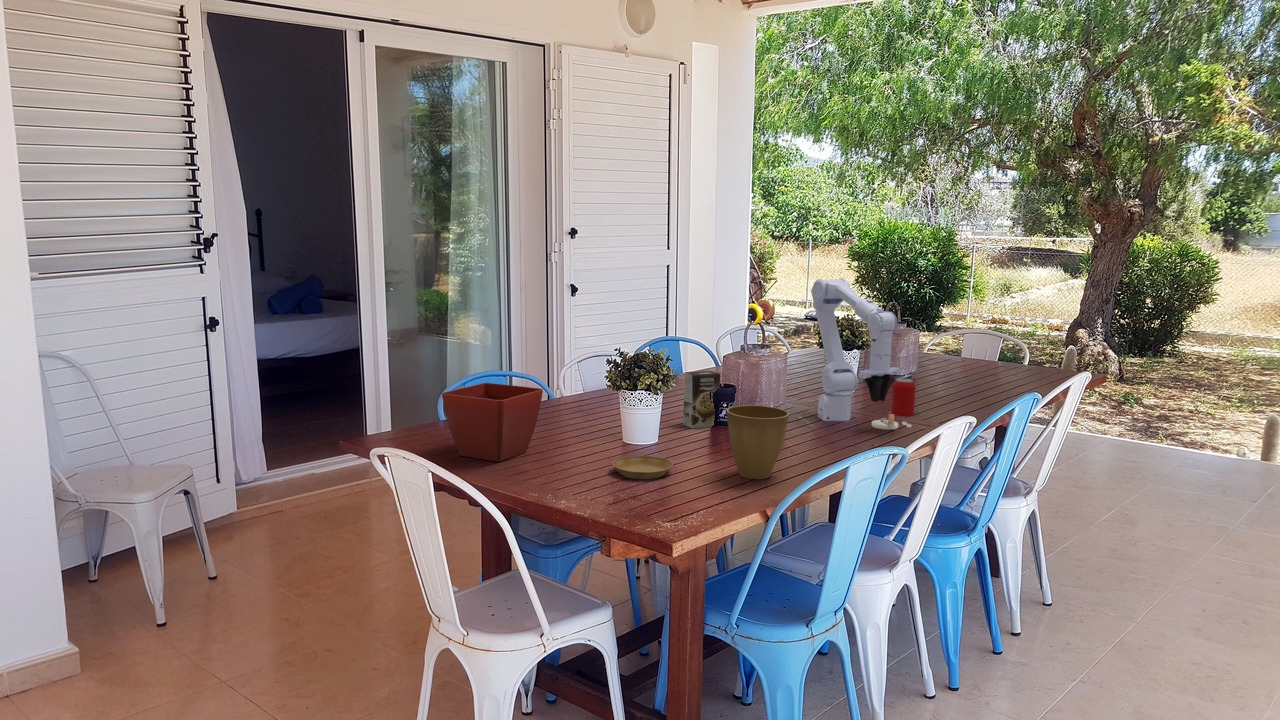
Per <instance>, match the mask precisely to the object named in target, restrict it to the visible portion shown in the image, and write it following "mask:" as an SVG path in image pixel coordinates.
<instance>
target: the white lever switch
mask: <svg viewBox="0 0 1280 720" xmlns="http://www.w3.org/2000/svg"><path fill="white" fill-rule="evenodd" d="M871 427H872V428H874V429H879V430H889V431H891V430H897V429H899V422H897V421H895V415H894V414H892V413H888V418H886V417H880V419H874V420H872V421H871Z"/></svg>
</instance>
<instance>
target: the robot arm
mask: <svg viewBox="0 0 1280 720" xmlns="http://www.w3.org/2000/svg"><path fill="white" fill-rule="evenodd" d="M810 292H811V296H812V301H813V306H814V309H815V315H816V319H817V325H818V328H819V332H820V335H821V336H820V337H821V341H822V342H821V343H822V346H823V350H824V355H825V359H826V365H825V366H824V368H822V370H821V386H822V389H823V391H824V392H825V393H821V394H819V396H818V400H817V402H818V404H817V405H818V406H817V418H819V419H821V420H822V421H823V422H848V421H850V420H851V411H852V409H851V407H852V395H854V392H855V390H857V388H858V387H859V386H858V384H859V379H863V380H864V382H865V384H866V386H867V388H868V391H869V396H870V400H871V402H874V403H879V402H884V401H886V398H887V393H888V391H889V389H890V387H891V385H892V383H894V382H895V381H894V380H895V376H897V375H898V376H899V375H900V367H896V366H894V367H891V358H892V357H891V356H892V337H893V332H895V330H896V329H897V326H898V319H897V316H896V315H895V314H894V312H893V311H885V310H883V308H882V307H879V306H878V305H877V304H876V303H875V302H874V300H873V299H871V298H862V297H861V296H860V295H859V294H858V293H857V292H856V291H855V290H854V289H853V288H852V287H851V284H850V282H849V281H847V280H846V279H844V278H838V279H837V278H835V279H834V278H831V279H830V278H829V279H828V278H827V279H826V278H825V279H822V278H818V279H816V280H815V281H814V282H813V285H812V288H811V290H810ZM843 302H845V303H846V304H847V305H849V306H851V307H852V308H854V313H855V315H856V316H857V317H859V318H860V320H862V321H864V322H865V323H866V325H867V329H868V331H869V338H870V353H869V368H867V369H864V370H859V372H858V376H857V374H856V372H855V370H854V366H853V365H852V364H850V363H849V362H848V361H846V360H845V354H844V350H843V346H842V343H841V342H842V341H841V337H840V333H839V332H840V331H839V328H838V323H837V319H836V315H835V311H836V309H838V308H839V307H840V305H841V304H842V303H843ZM894 375H895V376H894ZM858 378H859V379H858Z"/></svg>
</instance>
